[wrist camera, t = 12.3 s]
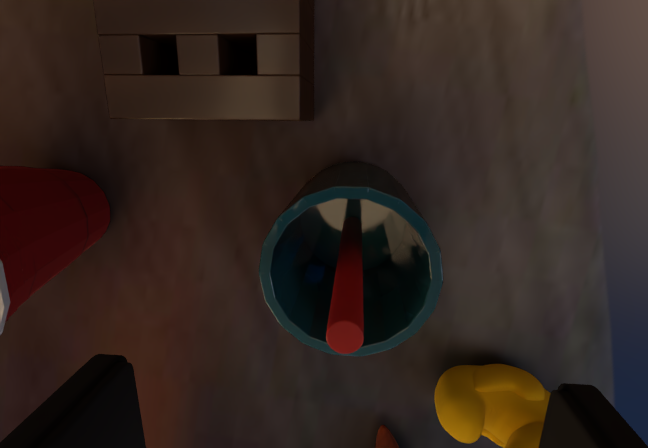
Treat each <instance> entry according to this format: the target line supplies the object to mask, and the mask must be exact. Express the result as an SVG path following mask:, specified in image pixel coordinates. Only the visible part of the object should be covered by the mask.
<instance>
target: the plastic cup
mask: <svg viewBox="0 0 648 448" xmlns="http://www.w3.org/2000/svg"><path fill="white" fill-rule="evenodd" d="M109 222H110V206H109V203H108V201H107V198H106V196H105V194H104V192H103V191H102V190H101V188H100V187H99V186H98V185H97V184H96V183H95V182H94V181H93V180H92V179H90V178H88V177H86V176H85V175H83V174H81V173H78V172H74V171H68V170H61V169H40V168H31V167H23V166H0V335H1V334H2V332H3V328H4V324H5V322H6V321H7V320H8V318H9V317H10V316H11V315H12V314H13V313H14V312H15V311H16V310H17V308H18V307H19V306H20V305H21V304H23V303H24V302H25V301H26V300H27V299H28V298H29V297H30V296H31V295H32V294H34V293H35V292H36V291H37V290H39V289H40V288H41V287H42V286H43V285H45V284H46V283H47V282H48V281H50V280H51V279H52V278H53V277H55V276H56V275H57V274H58V273H60V272H61V271H62V270H63V269H65V268H66V267H67V266H68V265H70V264H71V263H72V262H73V261H74V260H75V259H76V258H78V257H79V256H80V255H81V254H82V253H83V252H84V251H85V250H87V249H88V248H89V247H91V246H92V245H93V244H94V243H95V242H97V241H98V240H99V239H100V238H101V237H102V236H103V234H104V233H105V232H106V230H107V227H108V225H109Z"/></svg>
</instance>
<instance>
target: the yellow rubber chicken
mask: <svg viewBox="0 0 648 448" xmlns="http://www.w3.org/2000/svg"><path fill="white" fill-rule="evenodd" d="M375 448H399V446H398V444H397V442H396V440H395V438H394V437H393V435H392V434H391V432H390V430H389V429H388V428H387V427H386V426H385V425H381V426H380V428H379V430H378V434H377V439H376V444H375Z"/></svg>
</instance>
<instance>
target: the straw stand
mask: <svg viewBox="0 0 648 448" xmlns="http://www.w3.org/2000/svg"><path fill="white" fill-rule="evenodd" d="M93 3H94V10H95V17H96V24H97V32H98V35H99V36H98V38H99V45H100V52H101V59H102V67H103V73H104V82H105V89H106V96H107V104H108V111H109V117H110V118H111V119H187V120H272V121H311V120H314V86H313V85H314V54H313V53H314V0H93ZM251 54H257V74H258V75H252V68H251Z"/></svg>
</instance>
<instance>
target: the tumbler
mask: <svg viewBox="0 0 648 448" xmlns="http://www.w3.org/2000/svg"><path fill="white" fill-rule="evenodd" d="M349 217H356V218H358V219H359V220H360V221H361V224H362V264H363V314H364V341H363V344H362V346H361V347H360V348H359V349H358V350H357V351H355V352H353V353H349V354H342V353H338V352H336V351H334V350H333V349H332V348H331V347H330V346H329V345H328V343H327V340H326V330H327V324H328V318H329V311H330V305H331V298H332V292H333V286H334V279H335V273H336V267H337V260H338V254H339V247H340V241H341V235H342V228H343V223H344V221H345V220H346V219H347V218H349ZM259 276H260V281H261V285H262V290H263V294H264V299H265V300H266V303H267V305H268V306H269V308H270V309H271V311H272V313H273V314H274V316H275V317H276V319H277V320H278V322H279V324H280V325H281V326H282V327H283V328H284V329H286V330H287V331H288V332H289V333H291V334H292V335H293V336H294V337H296V338H297V339H298V340H299V341H301V342H302V343H304V344H305V345H308V346H310V347H313V348H316V349H318V350H321V351H323V352H326V353H329V354H332V355H345V356H366V355H370V354H374V353H378V352H382V351H386V350H390V349H392V348H394V347H395V346H397V345H399V344H400V343H402V342H403V341H405V340H407V339H408V338H410V337H411V336H413V335H414V334H416V333H417V332H418V331H419V329H420V328H421V327H422V325H423V324H424V323H425V322H426V320H427V319H428V318H429V316H430V315H431V314H432V313H433V311H434V309H435V307H436V304H437V301H438V298H439V294H440V291H441V288H442V284H443V270H442V258H441V251H440V248H439V246H438V244H437V242H436V240H435V238H434V236H433V234H432V232H431V230H430V228H429V226H428V224H427V222H426V221H425V219H424V218H423V216H422V215H421V213H420V212H419V210H418V209H417V207H416V205H415V204H414V202H413V201H412V199H411V198H410V196H409V195H408V193H407V192H406V190H405V189H404V187H403V186H402V184H401V183H399V182H398V180H396V179H395V178H394V177H393V176H392V175H391V174H390V173H388V172H387V171H386V170H384V169H382V168H380V167H378V166H375V165H372V164H369V163H364V162H355V161H354V162H343V163H338V164H335V165H332V166H329V167H327V168H325V169H323V170H321V171H320V172H319V173H317V174H316V175H315V176H314V177H313V178H312V179H310V180H309V181H308V182H307V183H306V184H305V185H304V186H303V188H302V189H301V190H300V191H299V192H298V194H297V195H296V196H295V197H294V198H293V200H292V201H291V202H290V203H289V204H288V206H287V207H286V208H285V209H284V210H283V212H282V213H281V214H280V215H279V216H278V218H277V219H276V221H275V223H274V225H273V226H272V228H271V230H270V232H269V233H268V235H267V237H266V238H265V240H264V242H263V245H262V252H261V259H260V265H259Z"/></svg>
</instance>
